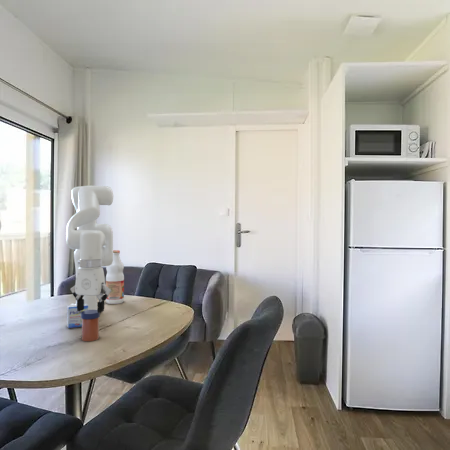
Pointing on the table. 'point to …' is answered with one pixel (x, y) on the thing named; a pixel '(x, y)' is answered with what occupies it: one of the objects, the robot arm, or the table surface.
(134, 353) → the table surface
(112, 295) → the fruit juice
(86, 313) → the jam lid
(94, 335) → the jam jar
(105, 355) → the table surface
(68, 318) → the medicine box
